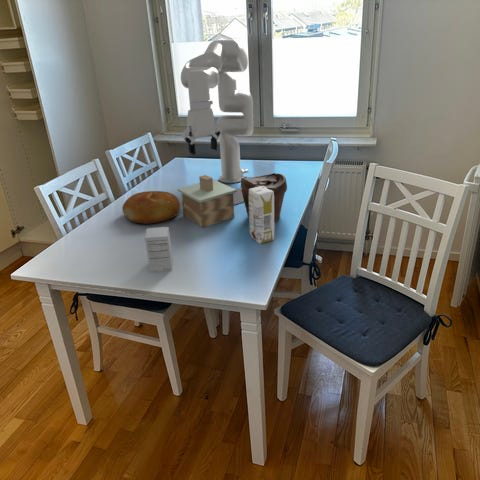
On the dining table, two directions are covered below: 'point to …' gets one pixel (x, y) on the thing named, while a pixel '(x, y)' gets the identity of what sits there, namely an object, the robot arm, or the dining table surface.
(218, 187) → the lid
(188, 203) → the crate
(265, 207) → the juice carton
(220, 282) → the dining table surface
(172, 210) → the bread
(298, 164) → the dining table surface
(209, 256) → the dining table surface
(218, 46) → the robot arm
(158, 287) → the dining table surface
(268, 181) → the brown plant pot
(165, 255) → the supplement box
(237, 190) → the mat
